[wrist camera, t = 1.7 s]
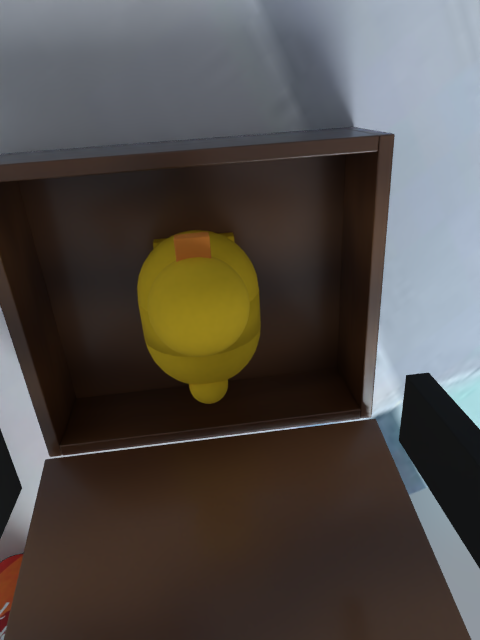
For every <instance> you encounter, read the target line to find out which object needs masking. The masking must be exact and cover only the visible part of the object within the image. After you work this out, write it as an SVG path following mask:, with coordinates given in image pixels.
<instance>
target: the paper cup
mask: <svg viewBox="0 0 480 640" xmlns="http://www.w3.org/2000/svg"><path fill="white" fill-rule="evenodd" d="M22 558H23V554H18V555H14V556H11V557H9V558H7V559H5V560H4V561H2V562H1V563H0V640H4V636H5V631H6V627H7V623H8V618H9V614H10V610H11V605H12V601H13V597H14V592H15V588H16V584H17V580H18V575H19V571H20V567H21V562H22Z"/></svg>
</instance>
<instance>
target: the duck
mask: <svg viewBox="0 0 480 640" xmlns="http://www.w3.org/2000/svg"><path fill="white" fill-rule="evenodd" d="M153 248H154V249H153V250H152V251H151V252H150V254H149V255H148V257H147V258H146V260H145V262H144V263H143V266H142V268H141V271H140V274H139V278H138V284H137V294H138V305H139V310H140V316H141V322H142V327H143V333H144V338H145V342H146V345H147V348H148V350H149V352H150V354H151V356H152V358H153V360H154V361H155V363H156V364H157V365H158V366H159V367H160V368H161V369H162V370H163V371H164V372H165V373H166V374H168V375H170V376H171V377H173V378H174V379H176V380H178V381H181V382H184V383H187V384H189V388H190V391H191V394H192V395H193V397H194V398H195V399H196V400H198V401H199V402H202V403H205V404H212V403H215V402H217V401H219V400H221V399H222V398H223V397H224V395H225V394H226V392H227V389H228V379H229V378H231V377H233V376H235V375H236V374H238V373H239V372H240V371H241V370H242V369H243V368H244V367H245V366H246V365H247V364H248V363H249V361H250V360H251V358H252V356H253V355H254V353H255V351H256V348H257V345H258V341H259V338H260V328H261V321H260V300H259V286H258V280H257V274H256V272H255V269H254V266H253V264H252V262H251V261H250V259H249V258H248V256H247V255H246V253H245V252H244V251H243V250H242V249H241V248H240V247H239V246H238V245H237V244H236V243H235V242H234V235H233V233H232V232H230V233H219V234H217V233H214V232H211V231H204V230H190V231H185V232H181V233H178V234H175V235H172V236H171V237H169V238H164V239H154V241H153Z"/></svg>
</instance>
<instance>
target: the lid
mask: <svg viewBox="0 0 480 640" xmlns="http://www.w3.org/2000/svg"><path fill="white" fill-rule="evenodd" d="M4 640H471V638H470V636H469V633H468V631H467V629H466V626H465V624H464V622H463V619H462V617H461V615H460V613H459V610H458V608H457V606H456V603H455V601H454V599H453V596H452V594H451V592H450V589H449V587H448V585H447V583H446V580H445V578H444V576H443V573H442V571H441V569H440V566H439V564H438V562H437V560H436V557H435V555H434V552H433V550H432V548H431V546H430V543H429V541H428V539H427V536H426V534H425V532H424V529H423V527H422V525H421V523H420V520H419V518H418V516H417V513H416V511H415V509H414V506H413V504H412V502H411V499H410V497H409V495H408V492H407V490H406V488H405V485H404V483H403V481H402V479H401V476H400V474H399V472H398V469H397V467H396V465H395V462H394V460H393V458H392V455H391V453H390V451H389V448H388V446H387V444H386V442H385V439H384V437H383V435H382V432H381V430H380V428H379V425H378V423H377V421H376V419H370V420H362V421H354V422H345V423H337V424H329V425H321V426H313V427H305V428H297V429H289V430H281V431H273V432H265V433H256V434H248V435H240V436H232V437H224V438H216V439H208V440H200V441H192V442H184V443H176V444H167V445H159V446H151V447H143V448H135V449H127V450H119V451H111V452H103V453H95V454H87V455H78V456H70V457H62V458H54V459H46V460H45V463H44V468H43V472H42V476H41V481H40V485H39V489H38V493H37V498H36V502H35V506H34V511H33V515H32V519H31V524H30V528H29V532H28V537H27V541H26V545H25V549H24V554H23V558H22V562H21V567H20V571H19V575H18V580H17V584H16V588H15V592H14V597H13V601H12V605H11V610H10V614H9V618H8V623H7V627H6V631H5V636H4Z"/></svg>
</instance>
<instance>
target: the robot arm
mask: <svg viewBox="0 0 480 640" xmlns="http://www.w3.org/2000/svg"><path fill="white" fill-rule="evenodd" d="M399 441H400V443H401V445H402V446H403V448H404V449H405V451H406V453H407V454H408V456H409V457H410V459H411V460H412V462H413V464H414V465H415V467H416V468H417V470H418V472H419V473H420V475H421V476H422V478H423V480H424V481H425V483H426V484H427V486H428V487H429V489H430V491H431V492H432V494H433V495H434V497H435V499H436V500H437V502H438V503H439V505H440V506H441V508H442V509H443V511H444V513H445V514H446V516H447V518H448V519H449V521H450V522H451V524H452V525H453V527H454V529H455V530H456V532H457V533H458V535H459V536H460V538H461V540H462V541H463V543H464V544H465V546H466V547H467V549H468V551H469V552H470V554H471V556H472V557H473V559H474V560H475V562H476V563H477V565H478V566H479V568H480V429H479V428H478V427H477V426H476V425H475V424H474V423H473V421H472V420H471V419H470V418H469V417H468V416H467V415H466V414H465V413H464V411H463V410H462V409H461V408H460V407H459V406H458V405H457V404H456V403H455V401H454V400H453V399H452V398H451V397H450V396H449V395H448V394H447V393H446V391H445V390H444V389H443V388H442V387H441V386H440V385H439V384H438V383H437V381H436V380H435V379H434V378H433V377H432V376H431V375H430V374H429V373H422V374H413V375H406V382H405V391H404V400H403V409H402V418H401V426H400V435H399ZM21 489H22V486H21V484H20V481H19V478H18V476H17V473H16V470H15V467H14V465H13V462H12V459H11V457H10V454H9V451H8V449H7V446H6V443H5V440H4V438H3V435H2V432H1V430H0V539H1V536H2V534H3V532H4V529H5V527H6V525H7V522H8V520H9V517H10V515H11V513H12V510H13V508H14V506H15V503H16V501H17V499H18V496H19V494H20V492H21Z"/></svg>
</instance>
